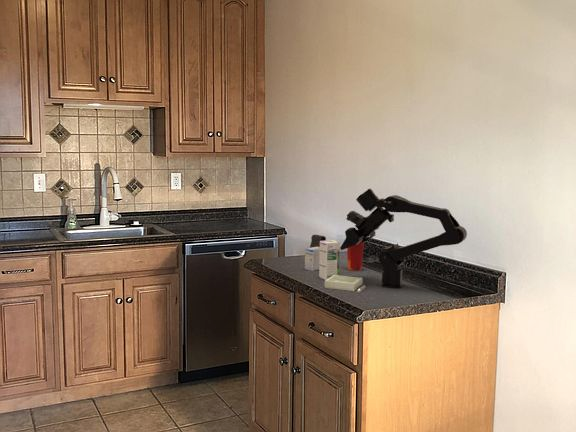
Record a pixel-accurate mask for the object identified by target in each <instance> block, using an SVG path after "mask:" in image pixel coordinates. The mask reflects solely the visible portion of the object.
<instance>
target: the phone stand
mask: <svg viewBox="0 0 576 432" xmlns="http://www.w3.org/2000/svg"><path fill="white" fill-rule="evenodd" d="M310 240H311V242H310V245H309V248H312V247H320V241H327V237H326V236H324V235H319V234H312V235H311V239H310Z"/></svg>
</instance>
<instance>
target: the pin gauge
mask: <svg viewBox="0 0 576 432" xmlns="http://www.w3.org/2000/svg"><path fill="white" fill-rule="evenodd" d="M365 289H366V285H364V284H362V285H361V286H360V287H359V288H357V289H356V290H355V291H356V293H357V294H360V293H361V292H363V291H364V290H365Z"/></svg>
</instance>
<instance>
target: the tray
mask: <svg viewBox="0 0 576 432" xmlns="http://www.w3.org/2000/svg"><path fill="white" fill-rule="evenodd" d="M362 286H363V277H357V276H347V275H340V274H339V275H333V276H332V277H330V278H328V279H327V280H324V287H323V288H324V289H333V290H341V291H350V292H351V291H352V292H355V291H357V290H358V289H359V288H361V287H362Z"/></svg>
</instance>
